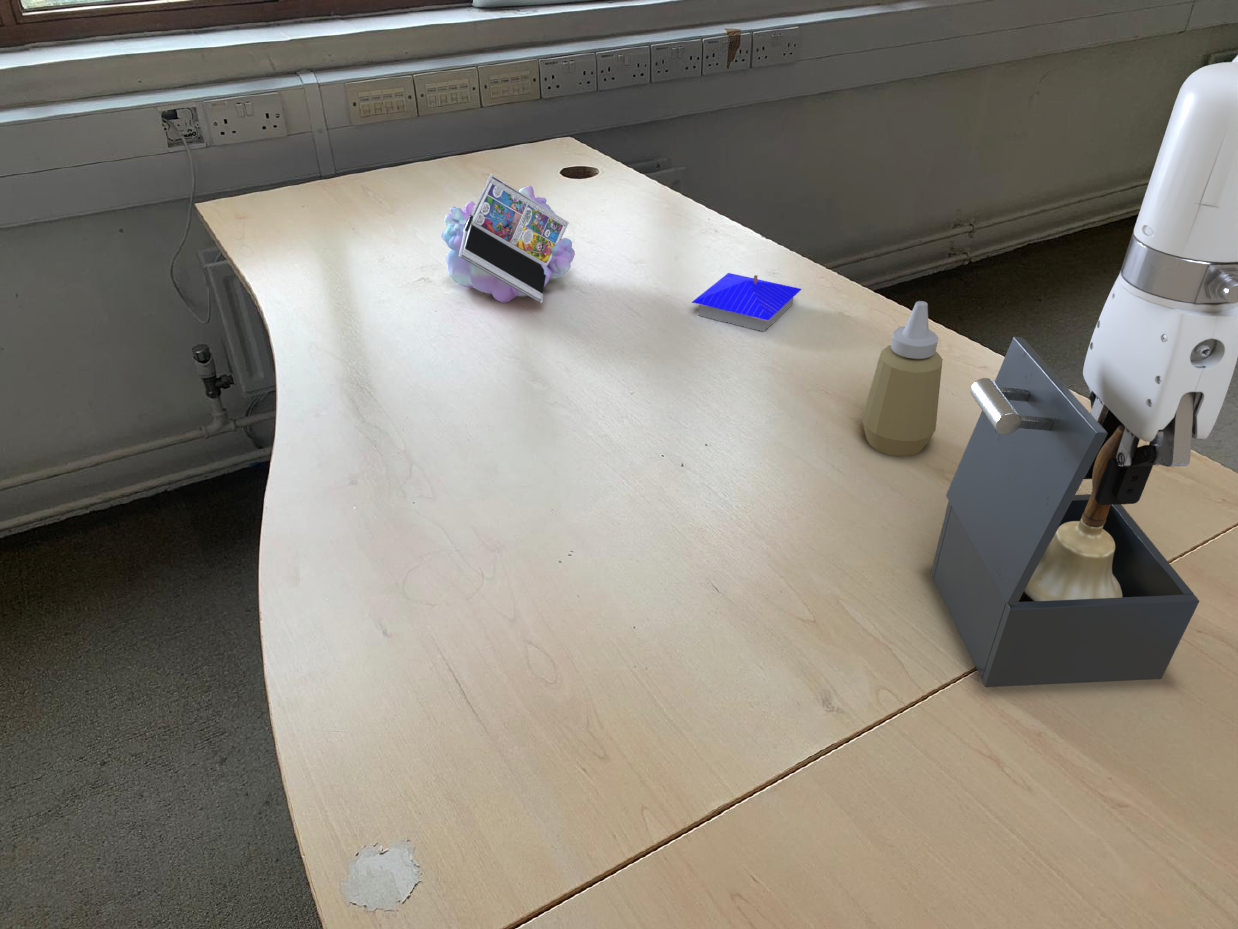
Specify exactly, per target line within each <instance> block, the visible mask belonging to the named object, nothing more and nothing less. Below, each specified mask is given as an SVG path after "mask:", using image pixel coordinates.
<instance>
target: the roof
mask: <svg viewBox="0 0 1238 929" xmlns="http://www.w3.org/2000/svg"><path fill="white" fill-rule="evenodd" d="M802 289H803V288H800V287H796V286H790V285H786V284H781V283H778V282H773V281H769V280H768V281H767V280H764V279H759V278H758V275H756V274H755V275H754V276H753V277H749V276H746V275H742V274H741V275H739V274H736V273H732V272H728V273H726V274H725V275H724V276H722V277H721V278H720V279H719V280H717V281H716V282H715V283H714V284H712V285H711V286H710V287H708V289H706V290H705V291H703V293H701V294H700V295H698V296H697V297H696V298H695V299H693V301H691V304H696V305H698V316H699V315H700V316H699V317H701V316H704V317H703V318H705V317H708V318H707V319H709V318H712V319H711V320H713V319H716V320H715V321H717V320H720V321H719V322H722V321H724V322H723V323H726V322H728V323H727V324H730V323H732V324H731V325H734V324H736V325H735V326H738V325H740V326H739V327H742V326H744V327H743V328H746V327H748V328H747V329H750V328H752V329H751V330H754V329H756V330H755V331H758V330H760V331H759V332H762V331H765V330H766V329H767V328H768V327H769V326H770V325H771V324H772V323H773V322H774V321H775V322H776V321H777V320H778V319H779V318H781V316H782V315H783V314H785V313H786V311H788V310H789V309H790V308H791V307H792V306H793V305H794V297H796V296H797V295H798V294H799V293H800V292H801V291H802ZM792 304H793V305H792ZM791 305H792V306H791ZM790 306H791V307H790ZM789 307H790V308H789ZM775 322H774V323H775ZM774 323H773V324H774ZM773 324H772V325H773ZM772 325H771V326H772ZM771 326H770V327H771ZM770 327H769V328H770ZM769 328H768V329H769ZM768 329H767V330H768ZM767 330H766V331H767ZM766 331H765V332H766Z"/></svg>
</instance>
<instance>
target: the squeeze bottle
mask: <svg viewBox="0 0 1238 929" xmlns="http://www.w3.org/2000/svg"><path fill="white" fill-rule="evenodd" d="M929 328H930V326H929V305H928V303H927V302H926V301H923V300H918V301H916V302H915V303H914V306H913V308H912V311H911V313H910V314H909V317H908V319H907V322H906V324H905V325H904V326H899V327H897V328H896V329H894V330H893V332H892V335H891V336H892V337H891V343H890V344H889V345H886V346H885V347H884V348H883V349H882V350H880V354H879V357H878V361H877V364H876V368H875V371H874V375H873V378H872V382H871V385H870V388H869V392H868V396H867V398H866V402H865V406H864V409H863V412H862V417H861V421H862V426H863V430H864V435H865V439H866V441H867V443H868V445H869V446H870V447H871V448H873V449H875V451H876V452H879V453H881V454H884V455H886V456H887V455H888V456H893V457H911V456H913V455H916V454H917V455H918V454H919V453H921V451H922V450H924V448H925V447H926V445H927V444H928V442H929V441H930V439H931V438H932V437H933V435H934V434H935V432H936V431H937V430H936V429H937V420H938V419H937V418H938V410H939V400H940V388H941V379H942V368H943V358H942V356H941V355H940V354H939V352H937V346H938V343H939V336H938V335H937V334H936V333H935V332H934V331H932V330H931V329H929Z"/></svg>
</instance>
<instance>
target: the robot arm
mask: <svg viewBox="0 0 1238 929" xmlns="http://www.w3.org/2000/svg"><path fill="white" fill-rule="evenodd" d="M1148 181H1149V182H1148V184H1147V188H1146V190H1145V194H1144V197H1143V200H1142V203H1141V206H1140V209H1139V212H1138V216H1137V218H1136V222H1135V224H1134V228H1133V231H1132V233H1131V236H1130V241H1129V243H1128V247H1127V249H1126V252H1125V256H1124V259H1123V262H1122V265H1121V268H1120V271H1119V274H1118V276H1117V277H1116V280H1115V281H1114V283H1113V285H1112V288H1111V290H1110V291H1109V294H1108V297H1107V299H1106V300H1105V302H1104V305H1103V308H1102V310H1101V313H1100V315H1099V317H1098V320H1097V322H1096V324H1095V328H1094V330H1093V334H1092V336H1091V339H1090V342H1089V345H1088V348H1087V352H1086V355H1085V359H1084V365H1083V368H1082V375H1083V379H1084V381H1085V383H1086V385H1087V388H1088V391H1089V393H1090V395H1089V402H1090V408H1091V409H1090V411H1089V413H1090V414H1091V415H1092V416H1093V417H1094V418H1095V419H1096V421H1097V422H1098V423H1099V424H1100V425H1101V426H1102V427H1103V428H1104V430H1105V431H1106V432H1107V433H1108V434H1107V436H1106V438H1105V440H1104V442H1103V444H1102V445H1101V447H1100V449H1099V451H1100V450H1101V448H1102V447H1103V445H1104V444H1105V443H1106V442H1107V440H1108V439H1109V438H1110V437H1111V436H1112V435H1113V434H1114V432H1115V431H1116V430H1117V428H1118V427H1119V426H1123V425H1125V430H1124V433H1123V437H1122V440H1121V443H1120V446H1119V449H1118V452H1117V456H1116V458H1112V459H1109V460H1108V463H1107V465H1106V468H1105V471H1104V474H1103V476H1102V479H1101V482H1100V485H1099V487H1098V490H1097V493H1096V496H1095V500H1096V501H1097V503H1098V504H1099V505H1117V504H1121V505H1134V504H1137V503H1138V502H1139V501H1140V500H1141V497H1142V495H1143V492H1144V490H1145V487H1146V485H1147V483H1148V480H1149V477H1150V474H1151V472H1152V469H1153V467H1155V466H1164V467H1168V468H1171V467H1188V466H1189V465H1190V462H1191V452H1192V451H1191V450H1192V440H1193V439H1194V440H1198V441H1203V440H1207V438H1208V437H1209V436H1210V434H1211V432H1212V431H1213V428H1214V427H1215V424H1216V422H1217V420H1218V417H1219V415H1220V413H1221V412H1220V411H1221V410H1222V407H1223V405H1224V402H1225V399H1226V396H1227V393H1228V390H1229V387H1230V384H1231V381H1232V378H1233V375H1234V371H1235V368H1236V365H1237V362H1238V54H1237V55H1236V56H1235V57H1234V58H1233V59H1232V61H1225V62H1217V63H1213V64H1209V65H1205V66H1202V67H1200V68H1199V69H1196V70H1195V71H1194V72H1192V73H1191V74H1190V75H1189V76H1187V78H1186V79H1185V81H1184V82H1183V83H1182V85H1181V87H1180V88H1179V91H1178V94H1177V97H1176V99H1175V102H1174V104H1173V107H1172V111H1171V114H1170V117H1169V120H1168V123H1167V126H1166V130H1165V132H1164V134H1163V139H1162V142H1161V144H1160V148H1159V151H1158V153H1157V157H1156V160H1155V163H1154V166H1153V169H1152V173H1151V176H1150V178H1149V180H1148ZM1140 440H1141V441H1143V442H1147V443H1149V444H1143V445H1140V446H1139V443H1140ZM1099 451H1098V453H1099ZM1098 453H1097V455H1098ZM1097 455H1096V457H1095V459H1094V460H1093V462H1092V464H1091V466H1090V468H1089V470H1088V472H1087V474H1086V475H1085V477H1084V479H1083V480H1092V474H1093V468H1094V464H1095V461H1096V458H1097Z"/></svg>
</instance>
